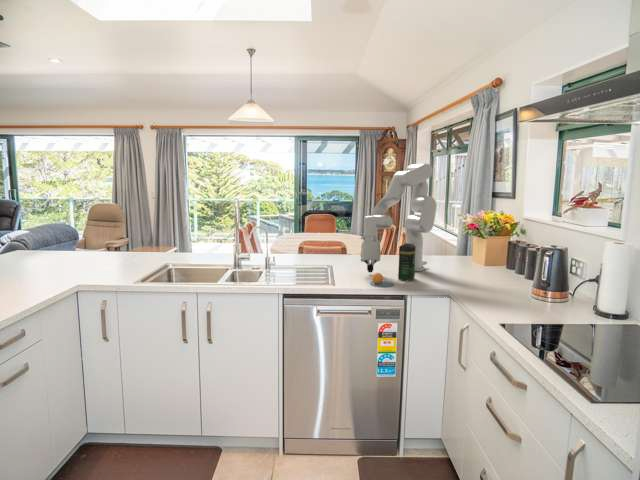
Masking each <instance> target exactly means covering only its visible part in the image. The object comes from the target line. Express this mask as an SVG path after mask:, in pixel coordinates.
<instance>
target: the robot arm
mask: <svg viewBox="0 0 640 480" xmlns="http://www.w3.org/2000/svg"><path fill="white" fill-rule="evenodd" d="M405 169H406V170H399V171H396V172H395V173H394V174H393V176H392V178H391V181H390V183H389V185H388V188H387V190H386V192H385V194H384V196H383V197H382V198H381V199H380V200H379V201H378V202H377V204H376V205H375V206H374V208H373V211H372V213H371V215H365V216H364V217H363V236H360V239H361V240H362V242H361V250H360V261H361V262H362V263H365V264H366V270H367V272H368V273H373V271H374V266H375V264H376V263H378V262H380V261H381V245H380V240H378V237H379V229H380V230H387V229H391V227H392V226H393V224H394V221H393V218H392V217H391V216H389V215H387V214H385V213H386V211H388V210H389V209H390V208H391V207H392V206H395V205H396V204H398V203H399V202H400V201H401V199H402V196H403V194H404V191H405V189H406V187H408V188H409V187H412V191H411V198H410V205H409V206H410V210H411V211H412V212H413V213H420V214H410V215H408V216H407V217H406V218H405V220H404V230H405V244H406V243H408V244H413V245H415V272H422V271H425V269H426V267H425V266H426V265H427V264H428V262H427V261H426V260H425V261H423V250H424V249H423V247H424V246H423V245H424V237H423V233H424V234H428V233H430V232H431V231H432V229H433V227H434V224H435V219H436V218H435V217H436V214H437V201H436V199H435V198H434V197H433V196H429V195H428V193H429V185H428V182H427V180H428V179H430V178H431V177H432V175H433V172H434V169H433V167H432V165H430V164H429V163H413V164H410V165H407V167H406V168H405Z"/></svg>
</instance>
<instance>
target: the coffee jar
mask: <svg viewBox="0 0 640 480" xmlns="http://www.w3.org/2000/svg"><path fill="white" fill-rule="evenodd" d="M415 273H416V271H415V245H413V244H408V243H406V242H405V244H402V245H400V246H399V247H398V274H397V278H398V280H401V281H413V280H414V279H415Z"/></svg>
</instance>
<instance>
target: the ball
mask: <svg viewBox="0 0 640 480" xmlns="http://www.w3.org/2000/svg"><path fill="white" fill-rule="evenodd" d="M371 280H372V281H371V282H374V283H375V284H380V283H382V281H384V276H383V275H382V274H381V273H380V272H375V273H374V274H372V276H371Z"/></svg>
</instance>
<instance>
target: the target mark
mask: <svg viewBox="0 0 640 480" xmlns="http://www.w3.org/2000/svg"><path fill="white" fill-rule="evenodd" d="M369 285H370V286H372V287H376V286H377V287H376V288H390V287H393V286H395V283H394V282H392V281H386V280H383V281H382V283H380V284H375V283H374V282H373V281H370V282H369Z"/></svg>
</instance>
